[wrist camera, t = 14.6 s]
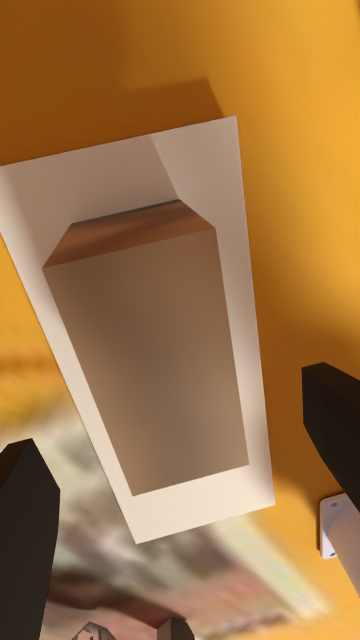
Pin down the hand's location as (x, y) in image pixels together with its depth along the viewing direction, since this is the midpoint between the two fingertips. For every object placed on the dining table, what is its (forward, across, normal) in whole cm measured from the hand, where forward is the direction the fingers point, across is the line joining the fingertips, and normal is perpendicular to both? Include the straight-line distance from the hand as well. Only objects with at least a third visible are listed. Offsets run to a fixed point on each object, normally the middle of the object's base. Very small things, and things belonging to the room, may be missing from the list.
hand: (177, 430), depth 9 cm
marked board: (+9, 0, +5) cm, 11 cm away
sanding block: (+8, 0, 0) cm, 8 cm away
